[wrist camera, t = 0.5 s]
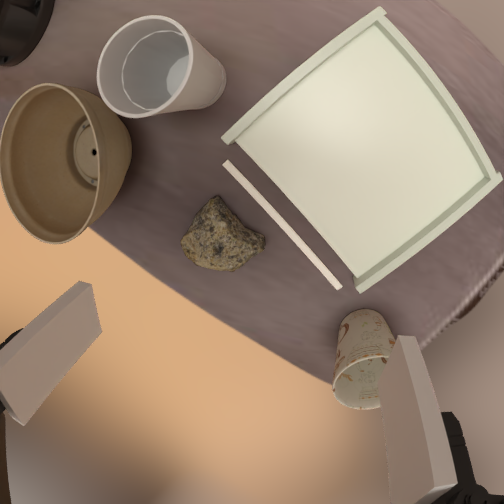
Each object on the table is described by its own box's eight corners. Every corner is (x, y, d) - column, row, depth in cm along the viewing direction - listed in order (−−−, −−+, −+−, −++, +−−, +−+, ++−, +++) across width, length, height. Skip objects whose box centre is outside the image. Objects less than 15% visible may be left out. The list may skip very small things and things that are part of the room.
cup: (162, 52, 28) (98, 30, 17) (234, 43, 26) (193, 5, 15) (163, 119, 31) (97, 124, 20) (234, 115, 29) (193, 112, 19)
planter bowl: (104, 60, 29) (41, 51, 19) (184, 151, 32) (133, 166, 22) (42, 152, 35) (-16, 169, 25) (106, 236, 38) (53, 272, 28)
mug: (344, 293, 35) (352, 348, 26) (430, 315, 34) (455, 368, 25) (321, 344, 39) (320, 403, 30) (402, 362, 38) (415, 416, 29)
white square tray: (226, 136, 30) (220, 138, 28) (374, 13, 22) (379, 5, 20) (357, 282, 34) (360, 293, 32) (492, 174, 26) (503, 179, 24)
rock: (228, 278, 37) (219, 298, 33) (179, 234, 36) (163, 249, 32) (269, 240, 34) (264, 256, 30) (216, 191, 33) (203, 201, 29)
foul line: (222, 164, 32) (222, 164, 32) (227, 159, 31) (227, 159, 31) (337, 289, 35) (337, 290, 35) (342, 285, 35) (342, 286, 35)
